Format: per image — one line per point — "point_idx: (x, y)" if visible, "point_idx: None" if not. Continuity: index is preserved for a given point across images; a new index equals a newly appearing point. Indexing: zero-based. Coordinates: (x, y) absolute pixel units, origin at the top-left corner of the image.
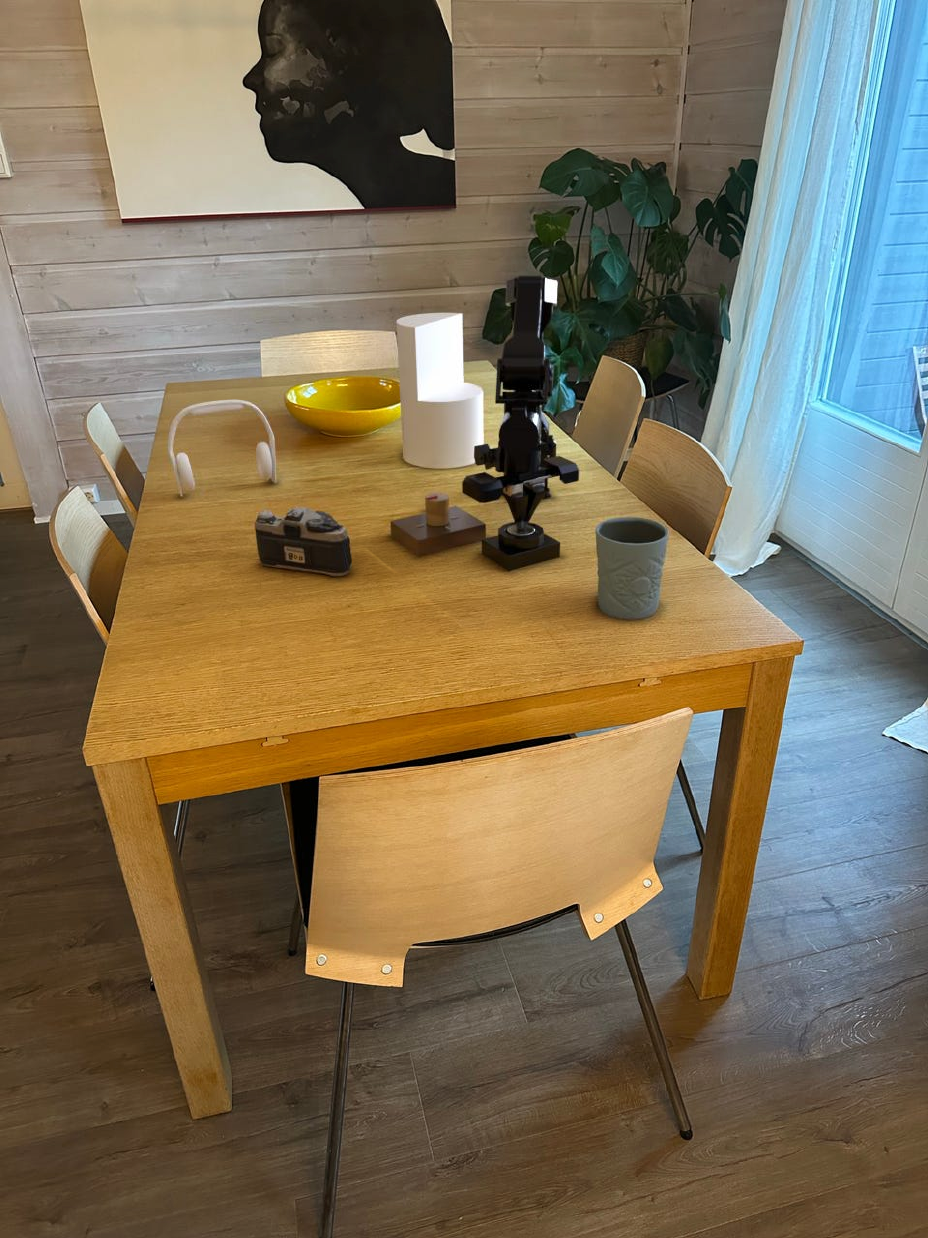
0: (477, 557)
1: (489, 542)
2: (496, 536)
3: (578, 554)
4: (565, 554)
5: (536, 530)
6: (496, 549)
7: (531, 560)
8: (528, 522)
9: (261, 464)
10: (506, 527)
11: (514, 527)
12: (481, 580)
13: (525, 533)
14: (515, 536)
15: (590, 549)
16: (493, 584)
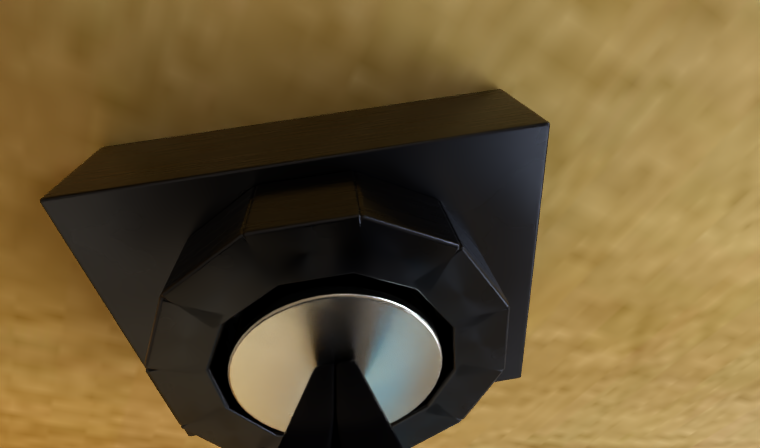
0: (65, 176)
1: (102, 273)
2: (185, 198)
3: (577, 310)
4: (533, 295)
5: (438, 392)
6: (140, 354)
7: None
8: (476, 269)
9: None
10: (246, 297)
11: (306, 337)
12: (61, 392)
13: None
14: (258, 429)
15: (655, 287)
16: (113, 424)
